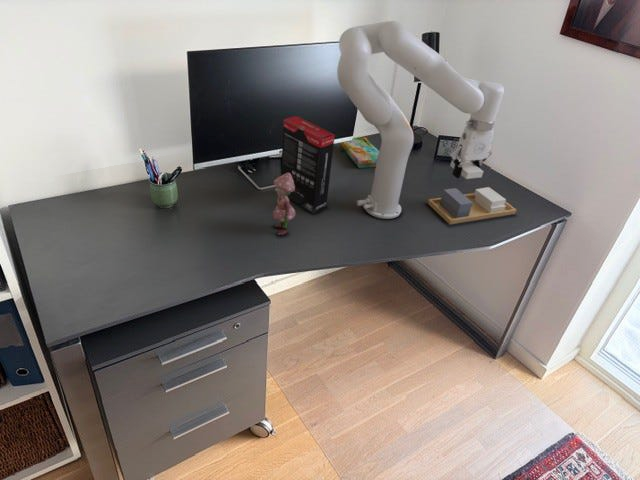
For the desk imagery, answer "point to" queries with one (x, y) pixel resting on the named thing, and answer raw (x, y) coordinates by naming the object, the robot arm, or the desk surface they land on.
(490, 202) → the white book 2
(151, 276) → the desk surface
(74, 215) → the desk surface
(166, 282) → the desk surface
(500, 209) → the white book
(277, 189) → the cartoon character
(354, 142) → the puzzle game
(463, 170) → the white rectangular lid
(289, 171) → the graphics card box
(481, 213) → the desk tray
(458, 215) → the blue-gray box
